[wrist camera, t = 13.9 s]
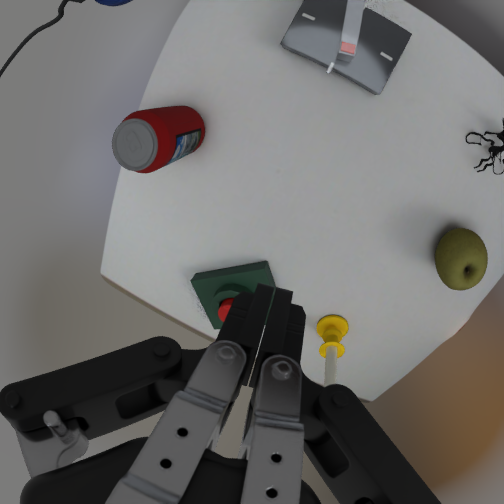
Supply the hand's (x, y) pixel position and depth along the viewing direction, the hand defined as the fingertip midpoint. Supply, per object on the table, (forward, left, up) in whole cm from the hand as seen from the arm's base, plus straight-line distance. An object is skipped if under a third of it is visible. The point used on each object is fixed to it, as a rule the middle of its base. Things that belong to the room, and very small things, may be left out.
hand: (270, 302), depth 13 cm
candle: (-2, -26, -27) cm, 37 cm away
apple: (+18, -15, -27) cm, 36 cm away
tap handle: (+9, +14, -24) cm, 29 cm away
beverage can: (-14, +9, -27) cm, 32 cm away
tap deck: (+9, +14, -27) cm, 32 cm away
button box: (-15, -17, -27) cm, 35 cm away
